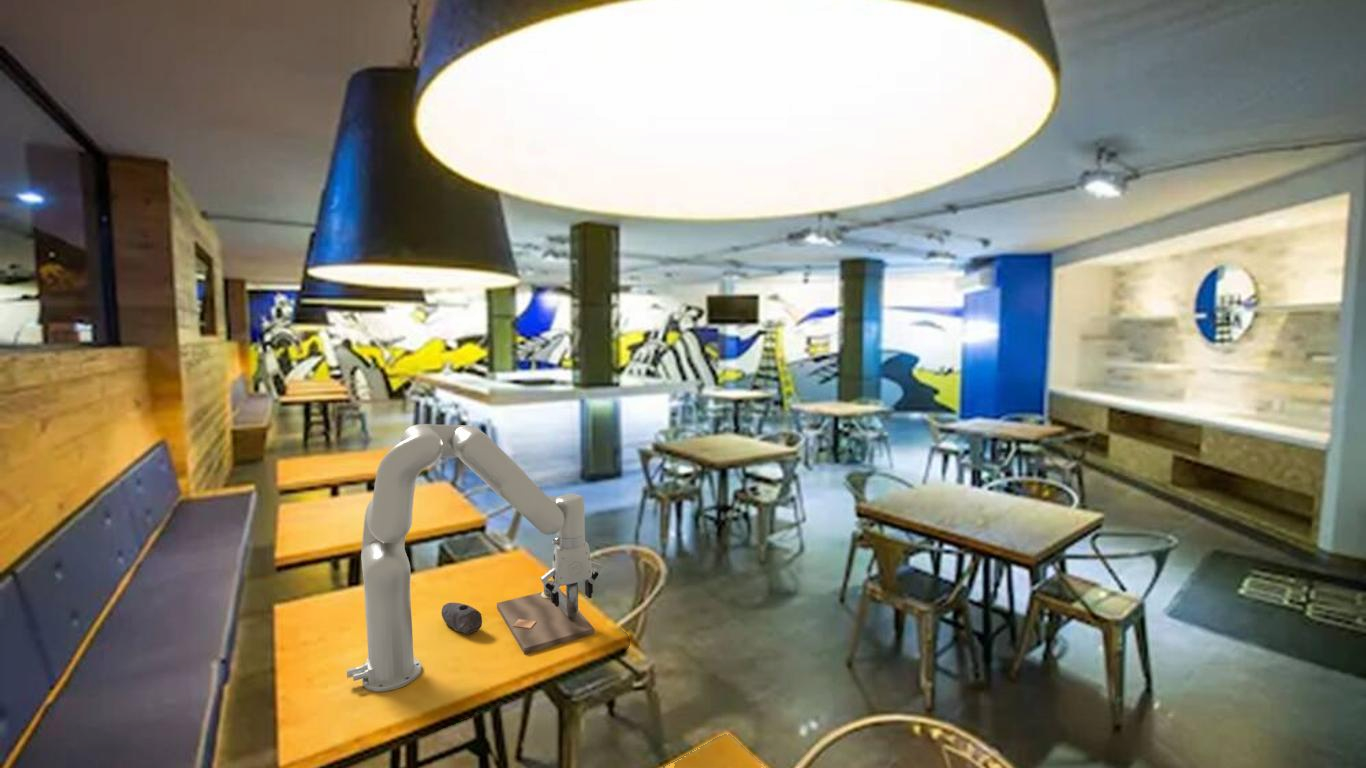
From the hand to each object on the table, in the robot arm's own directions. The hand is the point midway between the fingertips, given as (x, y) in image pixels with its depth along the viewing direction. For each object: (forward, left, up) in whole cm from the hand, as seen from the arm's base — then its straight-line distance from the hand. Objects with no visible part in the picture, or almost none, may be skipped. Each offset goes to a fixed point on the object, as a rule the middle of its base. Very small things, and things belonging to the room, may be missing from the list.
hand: (572, 600), depth 163 cm
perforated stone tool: (-27, +15, -8) cm, 32 cm away
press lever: (0, +9, -5) cm, 11 cm away
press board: (-6, +7, -7) cm, 12 cm away
